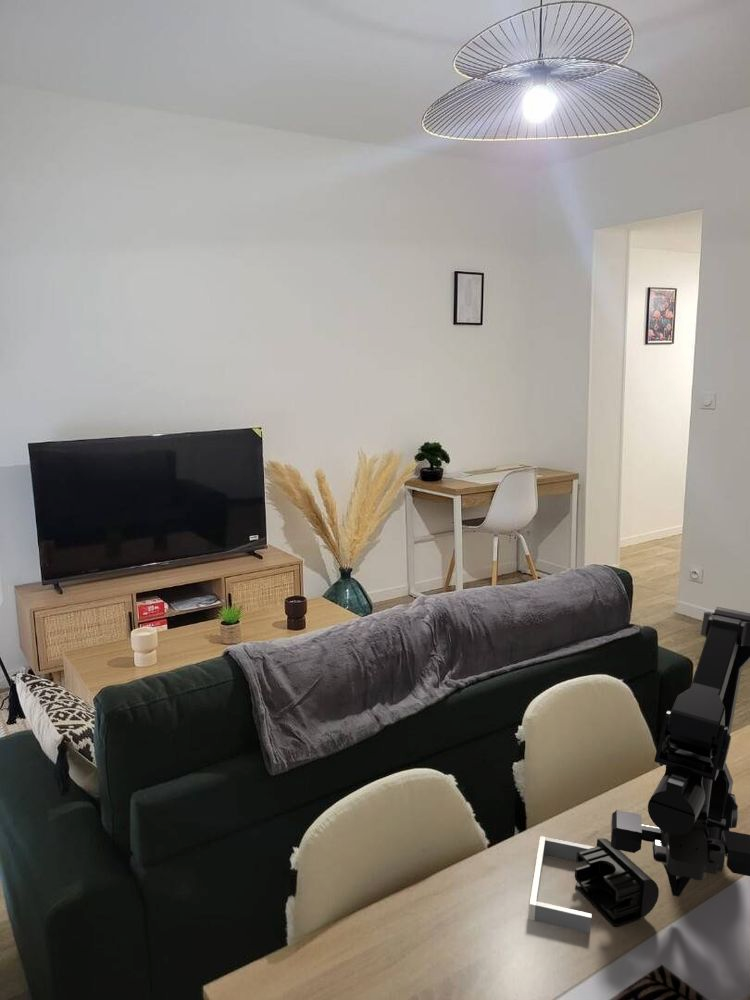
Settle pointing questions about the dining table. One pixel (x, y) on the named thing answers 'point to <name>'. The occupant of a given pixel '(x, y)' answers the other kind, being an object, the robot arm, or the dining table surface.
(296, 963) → the dining table surface
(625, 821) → the robot arm
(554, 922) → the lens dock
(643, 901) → the end cap
